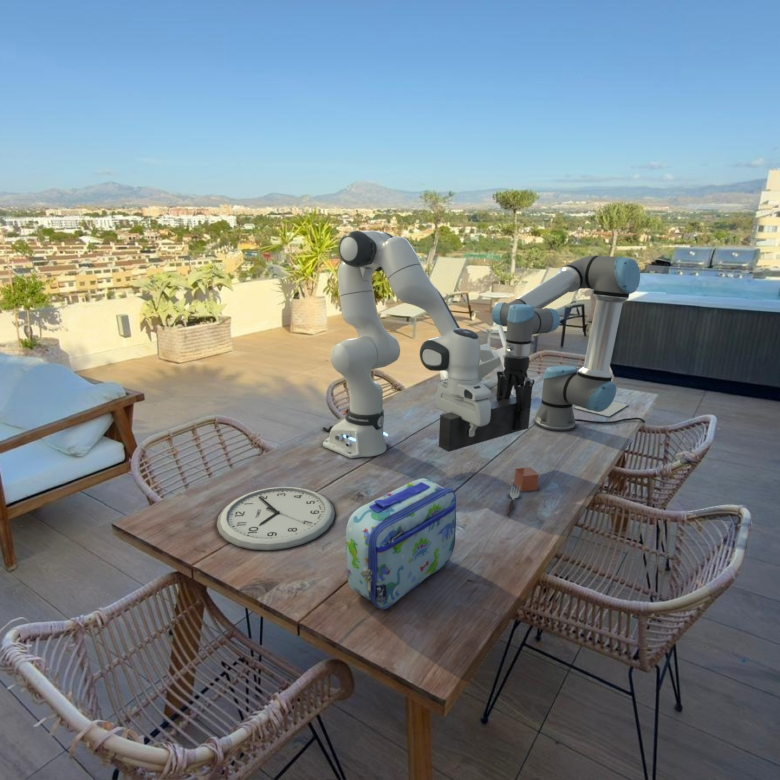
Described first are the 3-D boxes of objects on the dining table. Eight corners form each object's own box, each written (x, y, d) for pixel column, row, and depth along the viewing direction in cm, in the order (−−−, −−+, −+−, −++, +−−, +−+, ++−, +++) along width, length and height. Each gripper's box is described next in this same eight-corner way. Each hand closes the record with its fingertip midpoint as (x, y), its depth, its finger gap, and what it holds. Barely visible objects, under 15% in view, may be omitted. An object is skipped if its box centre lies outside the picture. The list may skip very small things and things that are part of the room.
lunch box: (375, 622, 100) (376, 527, 94) (339, 595, 108) (338, 505, 101) (459, 565, 118) (465, 481, 112) (424, 545, 125) (427, 465, 119)
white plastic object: (461, 429, 252) (437, 405, 227) (444, 352, 274) (420, 323, 250) (535, 404, 240) (518, 377, 215) (510, 326, 262) (492, 293, 237)
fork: (503, 516, 138) (503, 510, 138) (511, 489, 153) (511, 483, 152) (513, 518, 137) (513, 511, 137) (520, 491, 152) (520, 485, 151)
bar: (517, 424, 173) (520, 395, 170) (528, 428, 169) (531, 399, 166) (438, 446, 154) (440, 414, 151) (448, 451, 150) (450, 419, 147)
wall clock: (333, 542, 123) (202, 546, 121) (333, 547, 124) (203, 552, 121) (335, 482, 152) (229, 485, 149) (335, 487, 152) (230, 490, 150)
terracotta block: (529, 482, 158) (530, 467, 156) (537, 490, 153) (538, 474, 152) (513, 483, 157) (515, 468, 155) (521, 491, 152) (523, 476, 151)
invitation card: (608, 416, 214) (573, 407, 224) (608, 416, 214) (573, 408, 224) (628, 404, 229) (594, 396, 238) (628, 405, 229) (594, 397, 238)
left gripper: (431, 379, 156) (429, 422, 160) (479, 397, 140) (476, 444, 144) (447, 376, 160) (445, 418, 164) (495, 393, 144) (492, 439, 148)
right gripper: (487, 351, 165) (482, 420, 172) (531, 363, 151) (523, 438, 158) (504, 348, 169) (498, 416, 176) (548, 360, 155) (540, 432, 162)
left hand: (460, 431), depth 154 cm, fingers open, 8 cm apart
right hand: (510, 426), depth 167 cm, fingers closed on bar, 4 cm apart
